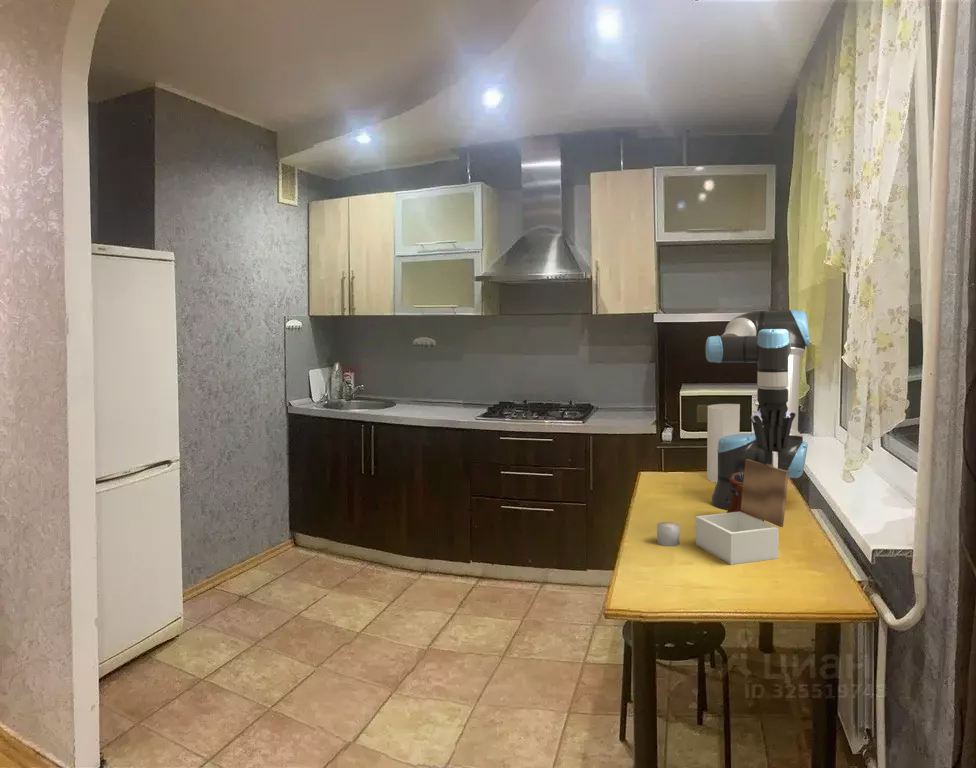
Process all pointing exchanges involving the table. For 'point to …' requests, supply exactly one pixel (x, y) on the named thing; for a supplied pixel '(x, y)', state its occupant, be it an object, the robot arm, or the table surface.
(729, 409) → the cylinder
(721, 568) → the table surface
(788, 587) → the table surface
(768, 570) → the table surface
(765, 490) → the lid
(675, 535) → the grey squat drum
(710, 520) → the box
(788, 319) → the robot arm
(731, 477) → the mug
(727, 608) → the table surface
